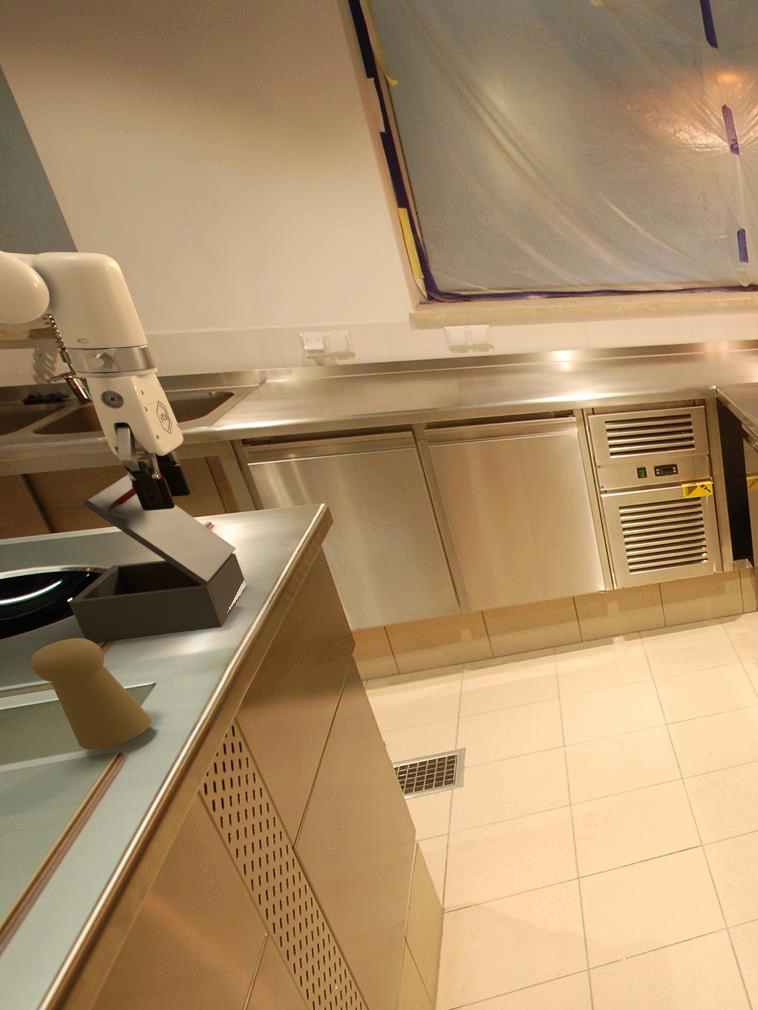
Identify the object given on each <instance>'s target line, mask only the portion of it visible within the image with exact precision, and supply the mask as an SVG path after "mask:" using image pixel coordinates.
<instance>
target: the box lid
mask: <svg viewBox="0 0 758 1010" xmlns="http://www.w3.org/2000/svg"><path fill="white" fill-rule="evenodd" d="M160 478H163V475H162V473H161V472H160ZM82 506H84V507H86V508H87V509H88V510H90V511H92V512H93V513H94V514H96V515H98V517H100V518H102V519H104V520H105V521H107V522H108V523H109V524H111V525H112V526H114V527H115V528H116V529H118V530H120V531H121V532H123V533H124V534H125V535H127V536H129V537H130V538H132V540H135V541H136V542H138V543H139V544H140V545H142V546H144V547H145V548H146V549H147V550H149V551H151V552H153V553H154V554H155V555H157V556H158V557H160V558H161V559H163V560H166V561H167V562H169V563H170V564H172V565H173V566H175V567H176V568H177V569H179V570H180V571H182V572H183V573H185V574H186V575H188V576H189V577H191V578H192V579H194V580H195V581H197V582H198V583H200V584H201V585H205V584H206V583H207V582H208V581H209V580H210V579H211V578H212V576H213V575H214V574H215V573H216V572H217V570H218V569H219V568H220V567H221V566H222V565H223V563H224V562H225V561H226V560H227V559H228V557H229V556H230V555H231V554H232V553H234V551H235V550H236V549H237V548H236V547H235V546H233V545H232V544H230V543H229V542H228V541H227V540H225V539H223V537H221V536H220V535H218V534H217V533H216V532H214V531H213V530H211V529H210V528H208V526H206V525H204V524H203V523H201V522H200V521H199V520H197V519H196V518H194V517H193V516H192V515H190V514H189V513H188V512H186V511H185V510H184V509H182V508H180V507H179V506H178V505H176V504H175V507H174V508H172V509H163V510H150V511H145V510H143V509H142V506H141V504H140V501H139V499H138V496H137V494H136V491H135V489H134V486H133V484H132V481H131V480H130V479H129V476H128V473H127V474H126V475H124V476H123V477H121V478H120V479H118V480H116V481H114V482H112V484H110V485H108V486H107V487H105V488H104V489H102V490H101V491H99V492H98V493H95V495H93V496H91V497H90V498H88V499H87V500H86V501H84V502H83V503H82Z"/></svg>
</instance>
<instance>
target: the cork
mask: <svg viewBox="0 0 758 1010" xmlns="http://www.w3.org/2000/svg"><path fill="white" fill-rule="evenodd" d="M104 663H105V655H104V652H103V650H102V648H101V647H100V646H99V645H98V643H94V642H92V641H90V640H87V639H85V638H81V637H79V638H78V637H76V638H74V637H73V638H67V639H62V640H59V641H55V642H52V643H49V644H47V645H45V646H43V647H41V648H40V649H38V650H37V651H35V652H34V654H32V656H31V660H30V665H31V668H32V670H33V672H34V673H35V674H36V675H37V676H38V677H39V678H41V679H42V680H44V681H45V682H49V683H51V686H52V688H53V690H54V692H55V694H56V697H57V699H58V701H59V703H60V705H61V708H62V710H63V713H64V714H65V717H66V719H67V721H68V724H69V725H70V728H71V730H72V732H73V734H74V737H75V739H76V741H77V743H78V745H79V747H81V748H83V749H86V750H98V749H105V748H109V747H114V746H116V745H119V744H122V743H125V742H128V741H129V740H132V739H134V738H135V737H137V736H140V735H141V734H142V733H144V732H145V731H146V730H147V729H148V728H149V727H150V726H151V724H152V723H153V720H152V717H151V716H150V715H149V714H148V713H147V712H146V711H145V709H144V708H143V707H141V705H140V704H139V703H138V702H137V701H136V700H135V698H134V697H133V696H132V695H131V694H130V693H129V692H128V691H127V690H126V689H125V688H124V687H123V686H122V684H121V683H120V682H119V680H118V679H116V677H115V676H114V675H113V674H112V673H111V672H110V671H109V670H108V668H106V666H104Z"/></svg>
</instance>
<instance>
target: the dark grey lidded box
mask: <svg viewBox="0 0 758 1010" xmlns="http://www.w3.org/2000/svg"><path fill="white" fill-rule="evenodd" d="M244 580H245V581H246V579H245V577H244V574H243V571H242V568H241V565H240V563H239V560H238V558H237V555H236V552H235V553H234V552H233V553H232V554H231V555H230V556H229V557H228V559H227V560H226V561H225V562H224V563H223V565H222V566H221V567H220V568H219V569H218V570H217V572H216V573H215V574H214V575H213V576H212V578H211V579H210V580H209V581H208V582H207V583H206V584H205V585H201V584H200V583H198V582H197V581H195V580H194V579H192V578H191V577H189V576H188V575H186V574H185V573H183V572H182V571H180V570H179V569H177V568H176V567H175V566H173V565H172V564H170V563H169V562H167V561H166V560H164V559H163V560H154V561H144V562H135V563H134V562H133V563H126V564H125V563H124V564H116V565H115V564H114V565H112V566H111V567H109V568H108V569H107V570H105V571H104V572H103V573H102V574H101V575H99V576H98V578H97V579H94V581H93V582H91V584H89V585H88V586H87V587H85V589H84V590H82V591H81V592H80V593H79V594H77V595H76V596H75V597H74V598H73V599H72V600H70V601H69V602H68V605H69V607H70V609H71V611H72V613H73V615H74V617H75V619H76V622H77V624H78V626H79V628H80V630H81V632H82V634H83V636H84V639H87V640H90V641H92V642H94V643H96V644H102V643H109V642H116V641H124V640H132V639H141V638H147V637H156V636H163V635H171V634H178V633H187V632H194V631H202V630H209V629H217V628H222V627H223V626H224V624H225V623H226V621H227V619H228V618H229V616H230V614H231V613H232V611H233V609H234V608H235V606H236V605H237V603H238V601H239V599H240V598H241V596H242V595H243V593H244V591H245V589H246V588H245V589H244V591H243V592H242V593H241V595H240V596H239V597H238V599H237V600H236V602H235V603H234V604H233V606H232V607H231V609H230V610H229V607H230V606H231V604H232V602H233V600H234V598H235V596H236V594H237V592H238V590H239V588H240V586H241V584H242V583H243V581H244ZM228 610H229V611H228ZM227 612H228V613H227Z"/></svg>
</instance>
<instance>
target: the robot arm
mask: <svg viewBox="0 0 758 1010" xmlns="http://www.w3.org/2000/svg"><path fill="white" fill-rule="evenodd" d="M43 315H51V317H52V318H53V321H54V323H55V325H56V328H57V330H58V333H59V335H60V337H61V340H62V342H63V345H64V348H65V350H66V352H67V355H68V357H69V360H70V363H71V365H72V367H73V369H74V372H75V374H76V375H75V376H77V377H79V378H85V379H86V384H87V387H88V390H89V394H90V398H91V401H92V403H93V406H94V410H95V413H96V415H97V418H98V422H99V423H100V427H101V429H102V431H103V434H104V436H105V440H106V441H107V443H108V445H109V448H110V449H111V451H112V453H113V454H114V455H115V456H117V458H118V460H119V462H120V463H121V464H122V465H123V468H124V469H125V470H126V472H127V474H128V476H129V479H130V480H131V481H132V484H133V486H134V489H135V491H136V494H137V496H138V499H139V501H140V504H141V506H142V509H143V510H145V511H150V510H163V509H172V508H174V507H175V505H176V503H175V501H174V498H173V497H187V496H190V495H191V494H192V492H191V488H190V486H189V484H188V481H187V478H186V475H185V473H184V470H183V467H182V465H181V461H180V458H179V457H178V454H177V452H176V451H175V450H176V449H177V448H178V447H180V446H181V445H182V444H183V442H184V435H183V433H182V431H181V428H180V426H179V423H178V421H177V419H176V417H175V413H174V412H173V409H172V407H171V404H170V402H169V400H168V397H167V396H166V393H165V391H164V390H163V387H162V385H161V383H160V381H159V379H158V377H157V375H156V374H155V373H158V372H159V370H158V367H157V365H156V361H155V359H154V356H153V353H152V351H151V348H150V346H149V344H148V340H147V337H146V335H145V331H144V328H143V326H142V322H141V321H140V317H139V315H138V312H137V310H136V306H135V304H134V301H133V298H132V295H131V292H130V291H129V287H128V285H127V283H126V280H125V276H124V274H123V272H122V270H121V267H120V265H119V263H118V262H117V261H116V260H115V259H114V258H112V257H111V256H109V255H107V254H105V253H104V254H103V253H99V252H98V253H97V252H80V251H79V252H77V251H75V252H74V251H53V252H52V251H51V252H40V253H37V254H31V253H17V252H8V251H7V252H5V251H2V250H0V324H2V325H3V324H4V325H21V324H22V325H23V324H26V323H30V322H34V321H35V320H37V319H38V318H40V317H41V316H43ZM136 452H143V453H136ZM145 461H147V463H148V464H147V463H146V462H145ZM160 472H161V473H162V475H163V478H160Z"/></svg>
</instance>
